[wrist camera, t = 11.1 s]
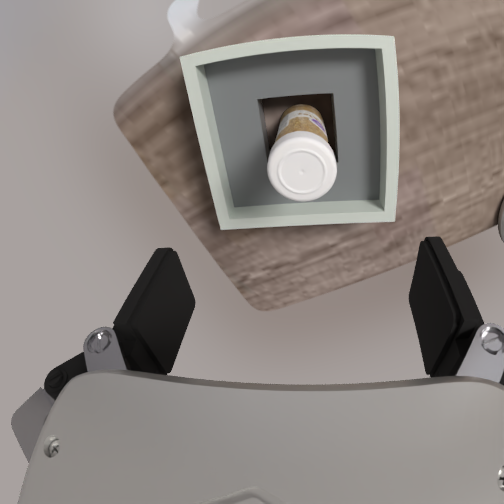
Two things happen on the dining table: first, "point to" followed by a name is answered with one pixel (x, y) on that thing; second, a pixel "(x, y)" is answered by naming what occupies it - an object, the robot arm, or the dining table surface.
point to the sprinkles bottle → (302, 156)
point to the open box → (288, 84)
